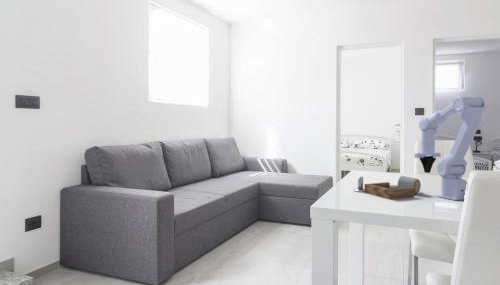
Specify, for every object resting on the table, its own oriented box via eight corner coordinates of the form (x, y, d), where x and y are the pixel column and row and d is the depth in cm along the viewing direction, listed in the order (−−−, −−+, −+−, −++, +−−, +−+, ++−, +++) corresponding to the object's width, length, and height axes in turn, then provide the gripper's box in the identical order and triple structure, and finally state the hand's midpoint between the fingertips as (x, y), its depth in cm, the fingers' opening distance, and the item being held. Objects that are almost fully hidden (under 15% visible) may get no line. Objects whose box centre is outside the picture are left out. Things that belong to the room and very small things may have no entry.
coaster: (408, 188, 178) (408, 187, 178) (394, 190, 174) (394, 188, 174) (395, 185, 186) (395, 184, 186) (381, 187, 182) (381, 185, 182)
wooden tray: (414, 196, 158) (414, 187, 158) (389, 199, 153) (390, 190, 153) (387, 190, 173) (387, 182, 173) (364, 192, 168) (364, 184, 168)
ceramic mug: (415, 195, 161) (415, 178, 161) (396, 193, 167) (397, 176, 167) (423, 192, 169) (424, 176, 168) (406, 190, 175) (406, 174, 174)
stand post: (369, 191, 170) (370, 177, 170) (359, 192, 168) (359, 178, 168) (361, 189, 176) (361, 175, 176) (351, 190, 174) (351, 176, 173)
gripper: (432, 143, 177) (431, 170, 178) (409, 143, 172) (408, 172, 172) (444, 143, 171) (444, 172, 171) (421, 144, 165) (421, 174, 166)
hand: (427, 172), depth 171 cm, fingers closed
